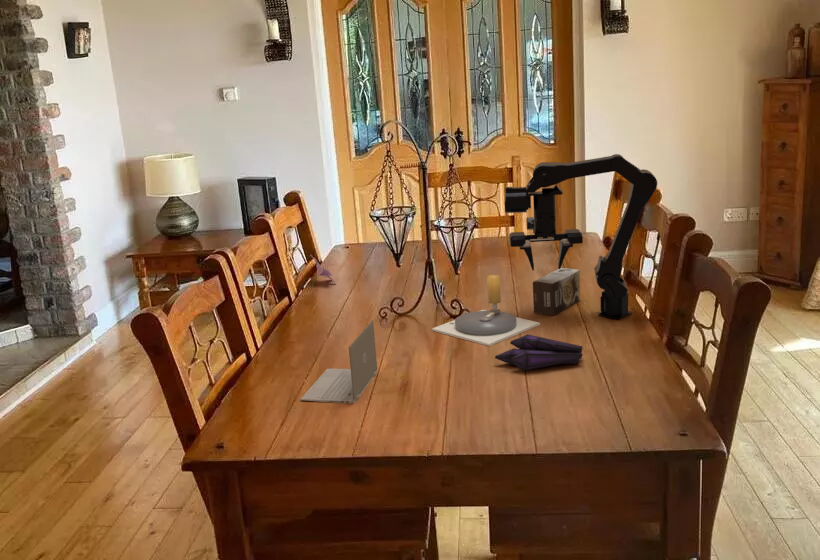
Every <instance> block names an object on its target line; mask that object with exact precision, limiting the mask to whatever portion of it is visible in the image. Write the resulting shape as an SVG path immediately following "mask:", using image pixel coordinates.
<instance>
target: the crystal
mask: <svg viewBox="0 0 820 560" xmlns="http://www.w3.org/2000/svg"><path fill="white" fill-rule="evenodd" d="M509 344H510V345H512V346H514V347H515V348H512V349H509V350H506V351H503V352H502V353H499V354H496V355H495V356H494V359H496V360H497V361H501V362H503V363H506V364H508V365H514V366H516V367H517V368H519V369H520V370H522V371H525V372H526V371H532V370H537V369H541V368H546V367H550V366H556V365H568V364H569V365H574V364H575V365H578V364H579V361H580V360H581V359H582V357H583V356H584V355H583V346H582V345H579V344H573V343H570V342H564V341H559V340H556V339H555V340H554V339H552V338H546V337H542V336H538V335H532V334H528V333H527V334H525V335H523V336H520V337H518V338H515V339H513V340H511V341H510V343H509Z"/></svg>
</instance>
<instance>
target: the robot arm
mask: <svg viewBox="0 0 820 560" xmlns="http://www.w3.org/2000/svg"><path fill="white" fill-rule="evenodd" d="M611 172H614V173H615V172H616V173H617V174H618V175H620V176H621V177H622V178H624V179H625V180H626V181H628V182H629V183H630V185H629V189H628V190H629V191H628V196H627V197H628V198H627V203H626V205H625V206H626V207H625V209H624V211H623V214H622V216H621V218H620V221H619V224H618V227H617V229H616V231H615V234H614V237H613V239H612V242H611V244H610V247H609V250H608V251H607V253H606V254H605V256H603V255H599V256H598V261H597V264H596V265H595V267H594V268H593V269H594V273H595V275H594V276H595V279H596V283H597V285H598V287H599V288H600V290H601V289H602V290H603V291H601V296H600V297H599V298H600V301H599V302H600V312H598V314H597V315H598V316H601V317H604V318H605V317H606V318H610V319H615V320H621V319H623V318H625V317H628V316H630V315H632V313H633V312H632V311H630V310H629V292H628V291H629V290H628V289H629V288H628V287H627V283H626V281H625V279H623V277H621V274H622V269H623V261H624V257H625V254H626V251H627V249H628V246H629V244H630V241H631V239H632V237H633V235H634V231H635V229H636V226H637V224H638V221H639V218H640V216H641V214H642V211H643V209H644V207H646V205H647V203H648V202H649V201H650V200H651V198H652V197H653V194H654V193H655V192H656V190H657V187H658V180H657V178H656V176H655V175H654V174H653V173H652V172H651V171H650V170H648V169H640V168H639V167H637V166H636V165H634V164H633V163H631V161H629V160H627V159H625V158H624V156H623V155H621V154H619V153H618V154H617V153H615V154H612V155H610V156H609V155H608V156H602V157H597V158H590V159H585V160H584V159H583V160H577V161H571V162H556V161H553V162H552V161H551V162H550V161H547V162H546V161H545V162H540V163H537V164H536V165H535V167H534V168H533V171H532V177H531V179H530V180H529V182H527V184H526V186H516V187H515V186H506V187H505V194H504V195H505V199H504V212H505V214H518V213H519V214H520V213H527V212H528V210H529V209H532V203H533V216H532V217H531V216H529V217H526V230H527V231H530V230H531V231H532V232H533V234H527V235H526V234H525V232H524V231H515V232H510V233H509V234H508V242H509V246H510V247H511V248H519V250H521V251H524V253H525V254H526V257H527V259H528V262H529V264H530V267H531V270H532V271H535V265H534V257H533V251H532V249H533V248H532V246H531V243H537V242H538V243H539V242H541V243H542V242H555V241H556V242H557V241H559V247H558V248H559V250H558V259H557V260H558V261H557V268H558V269H560V268H562V265H563V263H564V260H565V257H566V255H567V253H568V251H569V250H570V248H573V247H574V244H576V245H577V244H583V242H584V239H583V233H582V232H581V231H580V229H578V228H572V229H571V228H569V229H564V232H562V233H557V205H556V203H557V202H556V198H557V197H556V196H558V195H559V196H562V195H563V194H564V193H563V189H561V188H560V187H559V186H558V184H561V183H562V182H564V181H567V180H570V179H575V178H582V177H587V176H594V175H600V174H606V173H611ZM551 186H553V187H551ZM540 189H541V190H540ZM538 190H539V191H538ZM532 196H533V199H531V198H532ZM532 200H533V202H532ZM558 269H557V270H558Z"/></svg>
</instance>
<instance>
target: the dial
mask: <svg viewBox="0 0 820 560" xmlns="http://www.w3.org/2000/svg"><path fill="white" fill-rule="evenodd" d="M486 279H487V280H486V281H487V302H488V304H491V305H492V309H490V310H487V311H480V310H476V311H470V312H466V313H463V314H461V315H459V316H457V317H456V318H455V319H456V320H455V319H454V320H455V327H456V329H457V330H458V331H460V332H463V333H466V334H472V335H493V334H500V333H504V332H507V331H510V330H512V329H513V328H515V327H516V317H517V316H515V315H514V314H512V313H510V312H507V311H502V310H500V308H498V304H500V303H502V294H501V293H502V292H501V291H502V289H501V275H500V274H490V275H487V276H486Z"/></svg>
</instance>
